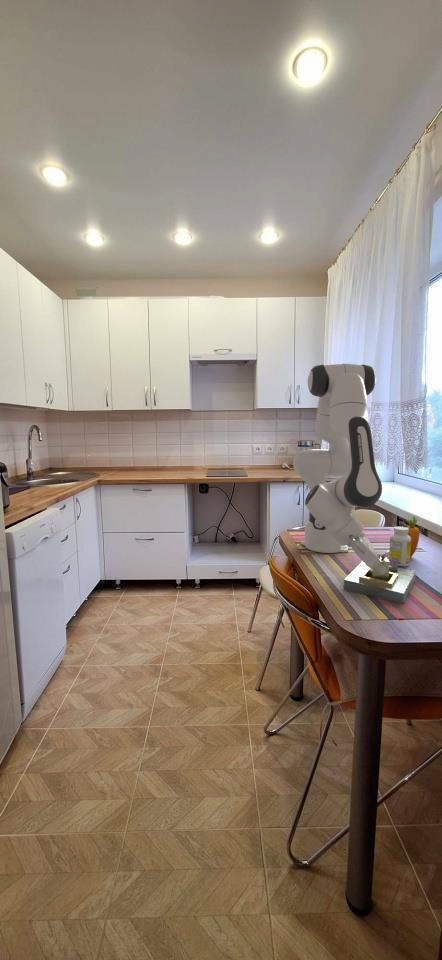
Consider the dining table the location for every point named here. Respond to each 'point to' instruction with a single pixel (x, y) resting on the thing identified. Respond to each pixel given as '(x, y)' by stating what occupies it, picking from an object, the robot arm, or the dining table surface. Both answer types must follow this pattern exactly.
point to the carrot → (413, 535)
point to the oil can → (376, 573)
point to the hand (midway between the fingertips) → (381, 565)
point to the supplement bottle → (400, 546)
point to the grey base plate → (381, 583)
